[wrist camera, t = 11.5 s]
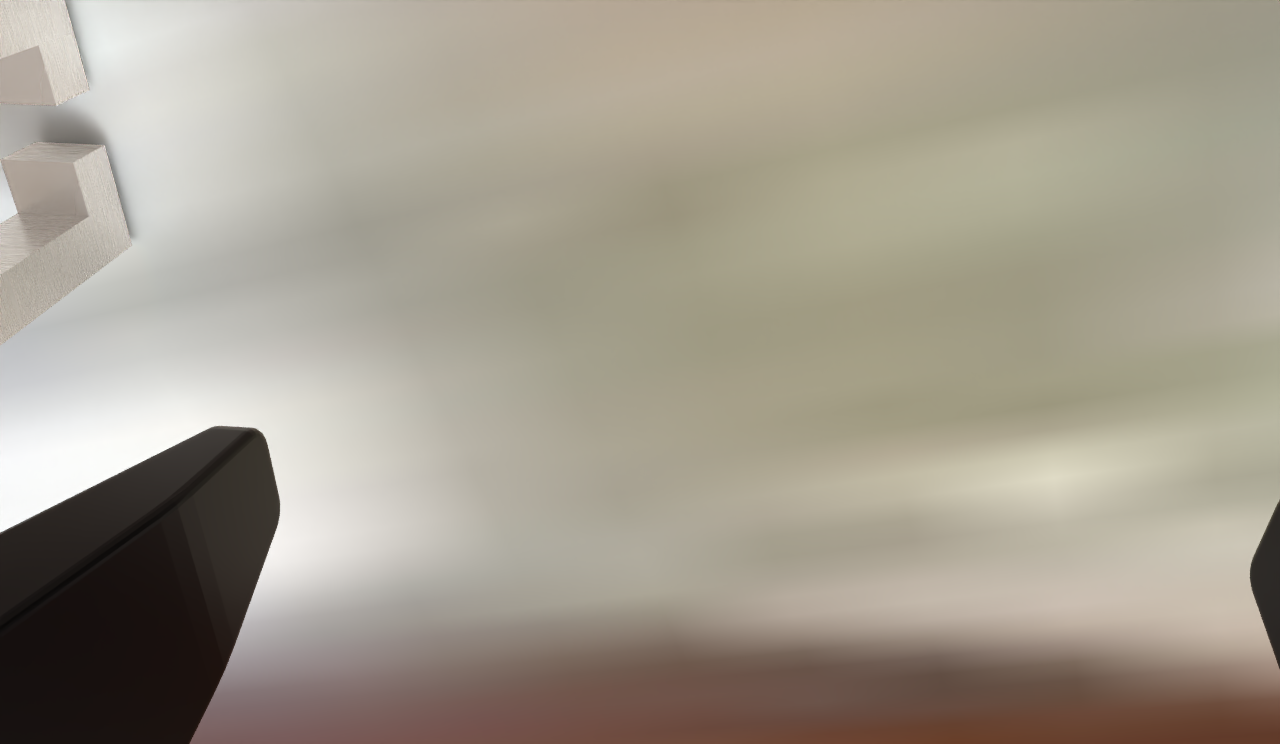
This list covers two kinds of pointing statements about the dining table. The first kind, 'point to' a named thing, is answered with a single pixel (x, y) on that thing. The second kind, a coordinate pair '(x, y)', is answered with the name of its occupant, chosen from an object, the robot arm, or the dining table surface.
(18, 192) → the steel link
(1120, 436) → the dining table surface
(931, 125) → the dining table surface
